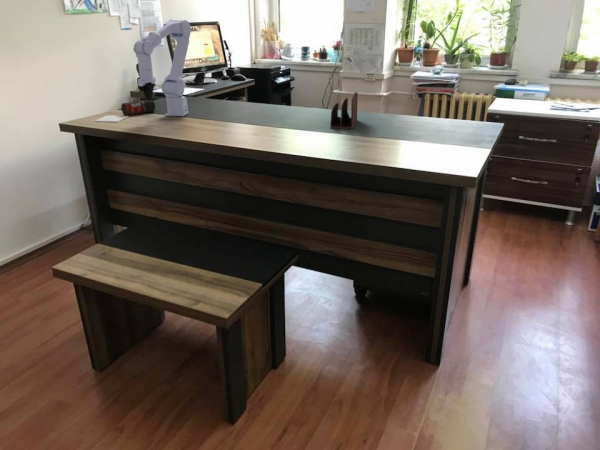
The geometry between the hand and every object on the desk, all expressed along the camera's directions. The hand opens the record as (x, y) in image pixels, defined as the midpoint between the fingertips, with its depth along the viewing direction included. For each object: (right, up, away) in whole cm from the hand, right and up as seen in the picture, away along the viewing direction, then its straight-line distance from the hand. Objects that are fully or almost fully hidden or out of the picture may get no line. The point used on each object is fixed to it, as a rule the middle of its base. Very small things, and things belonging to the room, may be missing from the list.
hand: (149, 100), depth 228 cm
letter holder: (+90, -12, 0) cm, 90 cm away
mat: (-19, -7, +6) cm, 22 cm away
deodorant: (-16, -2, +12) cm, 20 cm away
